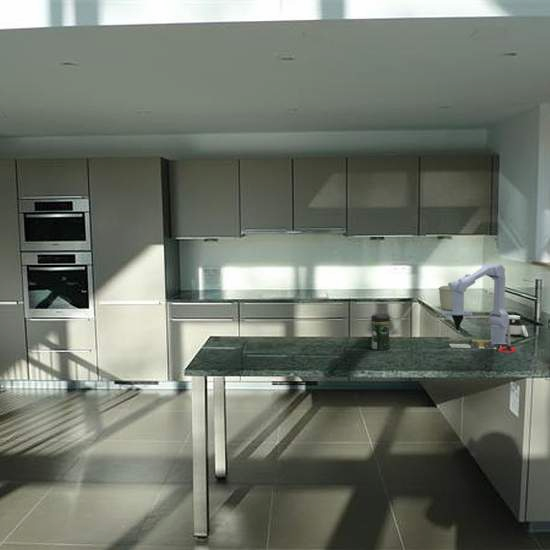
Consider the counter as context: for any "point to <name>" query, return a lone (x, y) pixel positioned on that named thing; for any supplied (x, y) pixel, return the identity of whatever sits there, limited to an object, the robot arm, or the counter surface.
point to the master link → (480, 342)
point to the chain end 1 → (474, 344)
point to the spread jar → (516, 326)
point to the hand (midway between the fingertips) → (457, 329)
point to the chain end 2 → (490, 345)
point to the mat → (464, 346)
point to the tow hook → (508, 344)
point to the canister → (446, 297)
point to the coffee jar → (380, 332)
